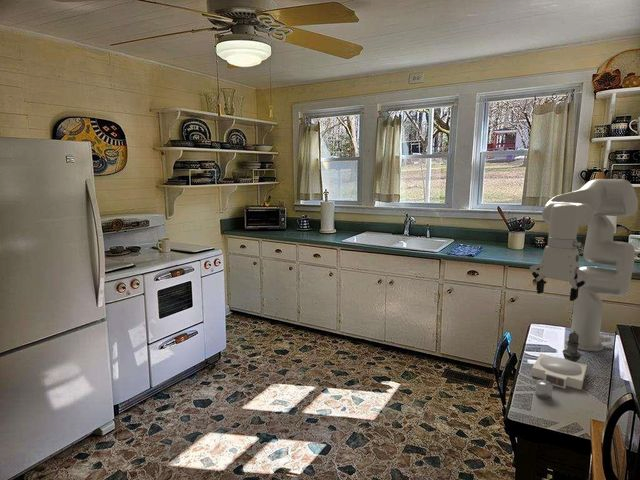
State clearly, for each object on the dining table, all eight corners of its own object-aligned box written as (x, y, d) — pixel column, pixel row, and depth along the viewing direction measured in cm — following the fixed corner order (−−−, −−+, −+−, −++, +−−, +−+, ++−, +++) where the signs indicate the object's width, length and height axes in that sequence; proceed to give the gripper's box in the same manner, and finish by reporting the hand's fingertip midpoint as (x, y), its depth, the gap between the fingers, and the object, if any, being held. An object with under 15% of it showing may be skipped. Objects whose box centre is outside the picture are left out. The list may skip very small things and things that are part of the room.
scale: (539, 361, 145) (540, 351, 144) (586, 373, 136) (587, 363, 136) (529, 379, 132) (530, 368, 131) (580, 393, 123) (581, 382, 123)
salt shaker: (583, 367, 141) (587, 334, 139) (565, 365, 142) (568, 332, 140) (576, 359, 146) (580, 328, 145) (558, 358, 148) (562, 326, 146)
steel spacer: (546, 391, 124) (547, 379, 123) (554, 399, 120) (556, 387, 119) (532, 391, 124) (533, 379, 123) (540, 399, 120) (541, 387, 119)
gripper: (597, 246, 122) (591, 301, 124) (538, 239, 135) (533, 288, 138) (588, 249, 117) (581, 305, 120) (527, 241, 131) (523, 292, 133)
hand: (556, 296), depth 129 cm, fingers open, 9 cm apart
